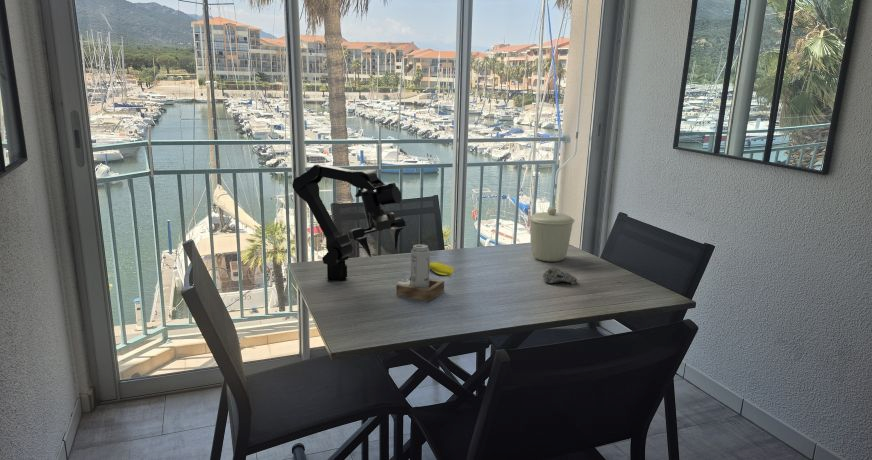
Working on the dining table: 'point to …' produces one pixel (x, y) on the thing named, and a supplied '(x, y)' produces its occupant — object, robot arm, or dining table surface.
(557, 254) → the canister
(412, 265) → the energy drink can
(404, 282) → the mounting bracket
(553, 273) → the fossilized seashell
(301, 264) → the dining table surface
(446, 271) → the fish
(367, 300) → the dining table surface
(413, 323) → the dining table surface
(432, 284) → the wooden tray
